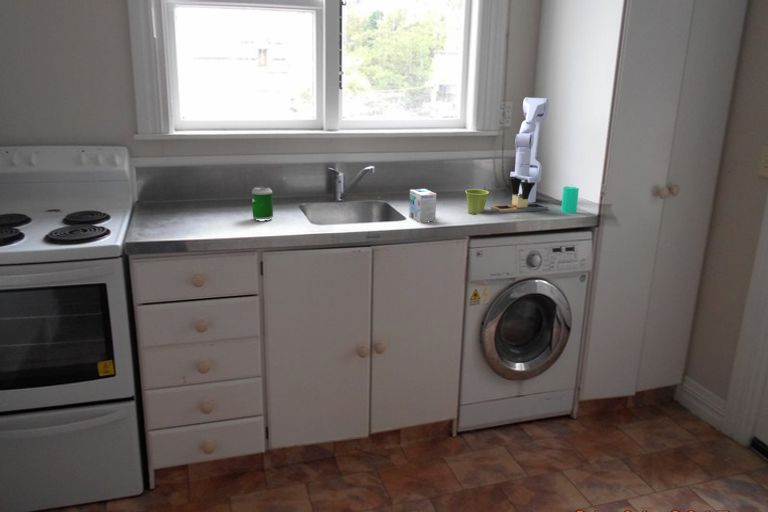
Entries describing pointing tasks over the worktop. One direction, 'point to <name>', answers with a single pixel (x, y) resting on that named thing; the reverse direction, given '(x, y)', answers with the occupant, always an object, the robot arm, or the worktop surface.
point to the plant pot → (476, 200)
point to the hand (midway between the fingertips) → (520, 197)
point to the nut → (519, 201)
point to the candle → (569, 199)
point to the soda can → (262, 203)
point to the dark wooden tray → (512, 209)
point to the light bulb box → (422, 205)
